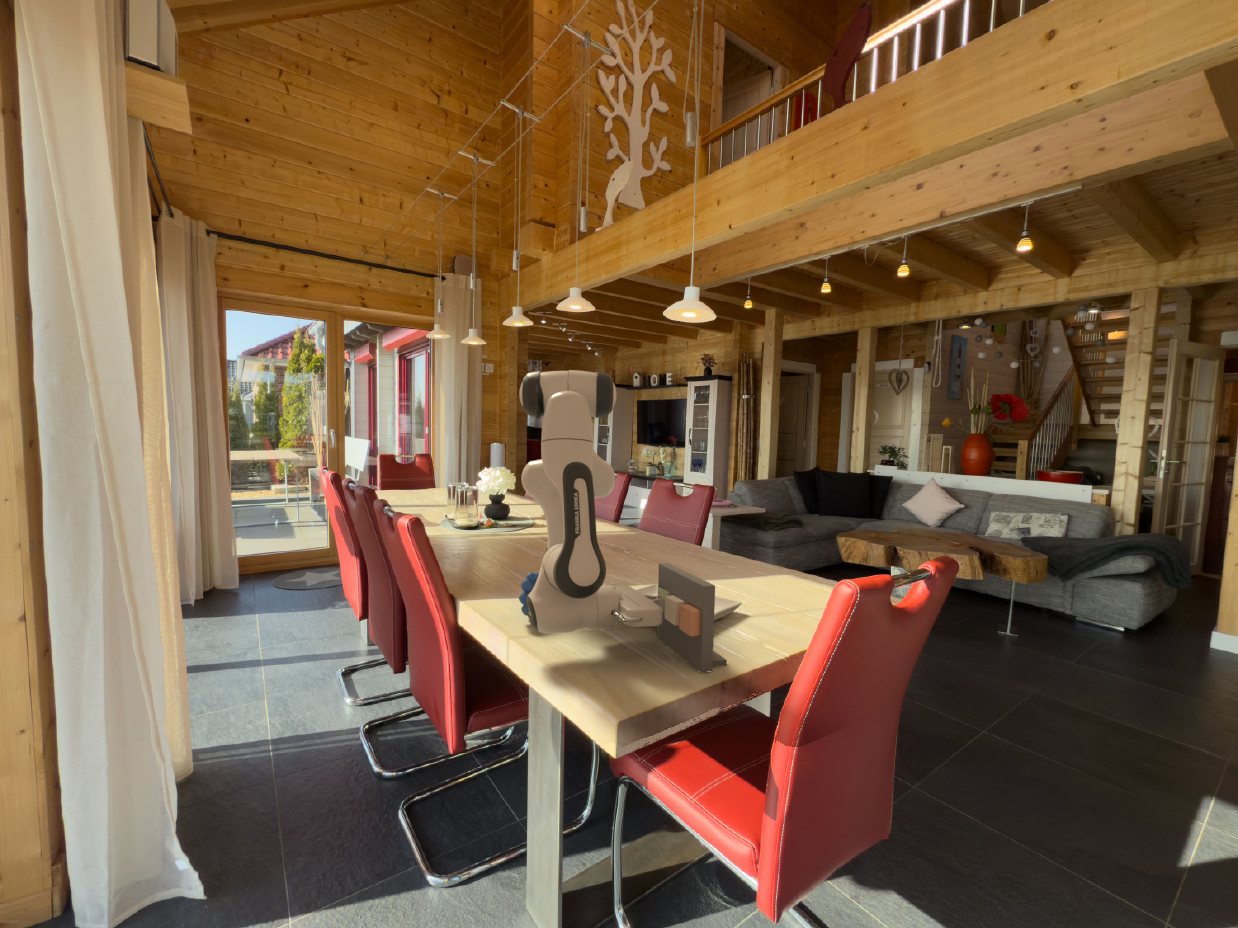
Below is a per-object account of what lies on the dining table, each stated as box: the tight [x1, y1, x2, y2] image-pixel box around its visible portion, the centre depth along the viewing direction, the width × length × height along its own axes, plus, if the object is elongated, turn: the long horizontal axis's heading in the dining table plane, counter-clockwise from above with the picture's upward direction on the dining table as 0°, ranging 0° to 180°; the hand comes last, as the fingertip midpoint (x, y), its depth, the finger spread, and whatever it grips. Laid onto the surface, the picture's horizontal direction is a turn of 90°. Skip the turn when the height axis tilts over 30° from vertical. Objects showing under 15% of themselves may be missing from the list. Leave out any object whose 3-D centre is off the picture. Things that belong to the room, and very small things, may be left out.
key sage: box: [659, 587, 670, 613], centre depth 123 cm, size 5×4×5 cm
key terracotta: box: [679, 604, 701, 636], centre depth 110 cm, size 5×4×5 cm
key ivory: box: [665, 595, 685, 626], centre depth 116 cm, size 5×4×5 cm
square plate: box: [635, 583, 742, 621], centre depth 143 cm, size 27×27×4 cm
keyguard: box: [656, 562, 728, 674], centre depth 118 cm, size 20×7×17 cm, turn 22°
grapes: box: [518, 571, 539, 617], centre depth 136 cm, size 12×7×12 cm, turn 161°
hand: (663, 600), depth 122 cm, fingers closed, pressing on key sage
